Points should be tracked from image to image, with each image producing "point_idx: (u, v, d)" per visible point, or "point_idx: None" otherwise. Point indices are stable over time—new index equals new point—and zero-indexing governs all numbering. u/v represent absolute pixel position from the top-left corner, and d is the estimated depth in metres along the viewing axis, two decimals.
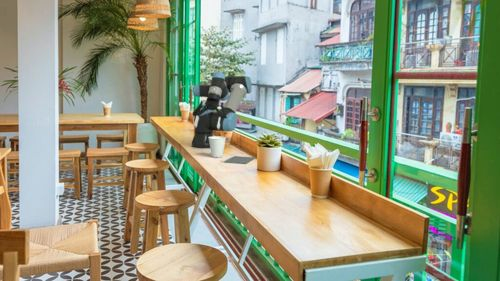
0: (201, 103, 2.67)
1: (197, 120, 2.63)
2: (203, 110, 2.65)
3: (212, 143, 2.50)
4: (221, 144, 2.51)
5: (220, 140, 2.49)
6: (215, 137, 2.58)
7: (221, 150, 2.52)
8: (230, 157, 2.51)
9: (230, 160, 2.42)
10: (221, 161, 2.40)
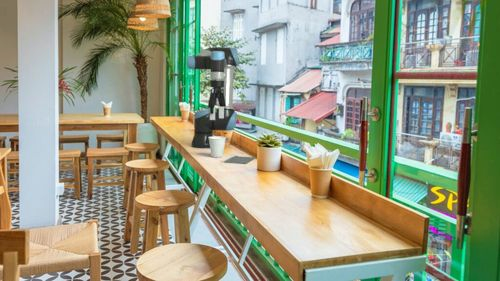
0: (215, 92, 2.44)
1: None
2: None
3: (212, 143, 2.50)
4: (221, 144, 2.51)
5: (220, 140, 2.49)
6: (215, 137, 2.58)
7: (221, 150, 2.52)
8: (230, 157, 2.51)
9: (230, 160, 2.42)
10: (221, 161, 2.40)
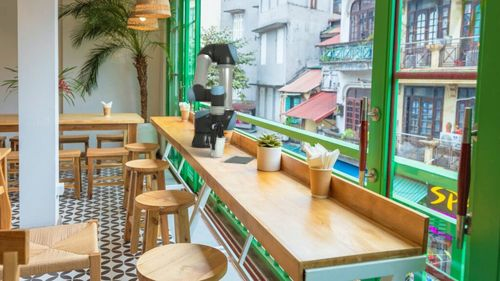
0: (215, 128, 2.47)
1: None
2: None
3: None
4: (221, 144, 2.51)
5: (220, 140, 2.49)
6: None
7: (221, 150, 2.52)
8: (230, 157, 2.51)
9: (230, 160, 2.42)
10: (221, 161, 2.40)
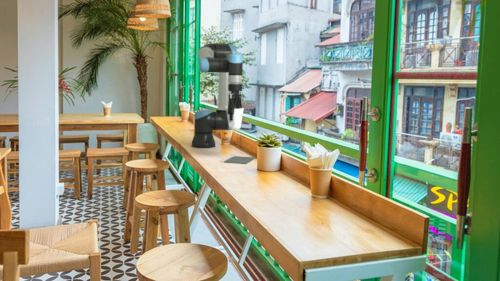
0: (233, 97, 2.37)
1: None
2: None
3: None
4: (239, 115, 2.41)
5: (238, 110, 2.40)
6: None
7: (239, 121, 2.42)
8: (230, 157, 2.51)
9: (230, 160, 2.42)
10: (221, 161, 2.40)
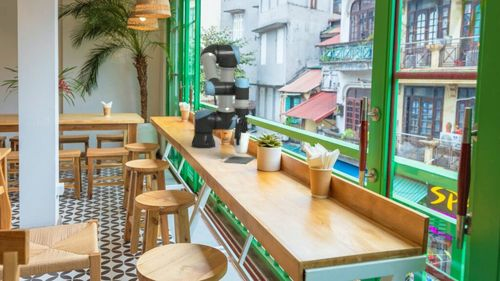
0: (240, 122, 2.37)
1: None
2: None
3: None
4: (246, 139, 2.41)
5: (245, 135, 2.40)
6: None
7: (245, 145, 2.42)
8: (230, 157, 2.51)
9: (230, 160, 2.42)
10: (221, 161, 2.40)
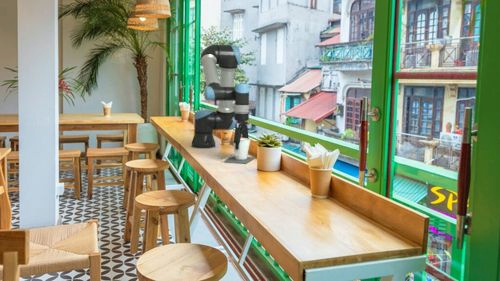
0: (240, 126, 2.37)
1: None
2: None
3: None
4: (246, 146, 2.42)
5: (245, 142, 2.40)
6: None
7: (245, 152, 2.43)
8: (230, 157, 2.51)
9: (230, 160, 2.42)
10: (221, 161, 2.40)
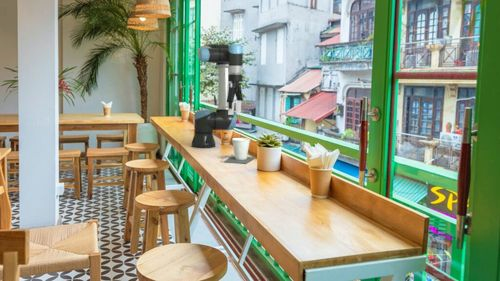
0: (233, 86, 2.40)
1: None
2: None
3: (236, 145, 2.41)
4: (246, 146, 2.42)
5: (244, 142, 2.40)
6: (238, 139, 2.49)
7: (245, 152, 2.43)
8: (230, 157, 2.51)
9: (230, 160, 2.42)
10: (221, 161, 2.40)
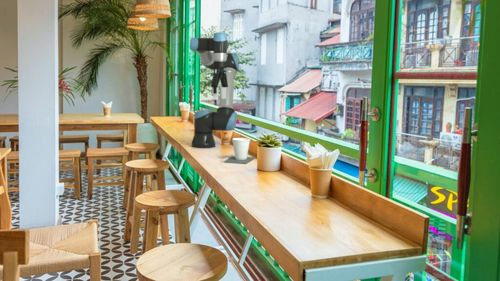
0: (218, 72, 2.51)
1: None
2: None
3: (236, 145, 2.41)
4: (246, 146, 2.42)
5: (245, 142, 2.40)
6: (238, 139, 2.49)
7: (245, 152, 2.43)
8: (230, 157, 2.51)
9: (230, 160, 2.42)
10: (221, 161, 2.40)
